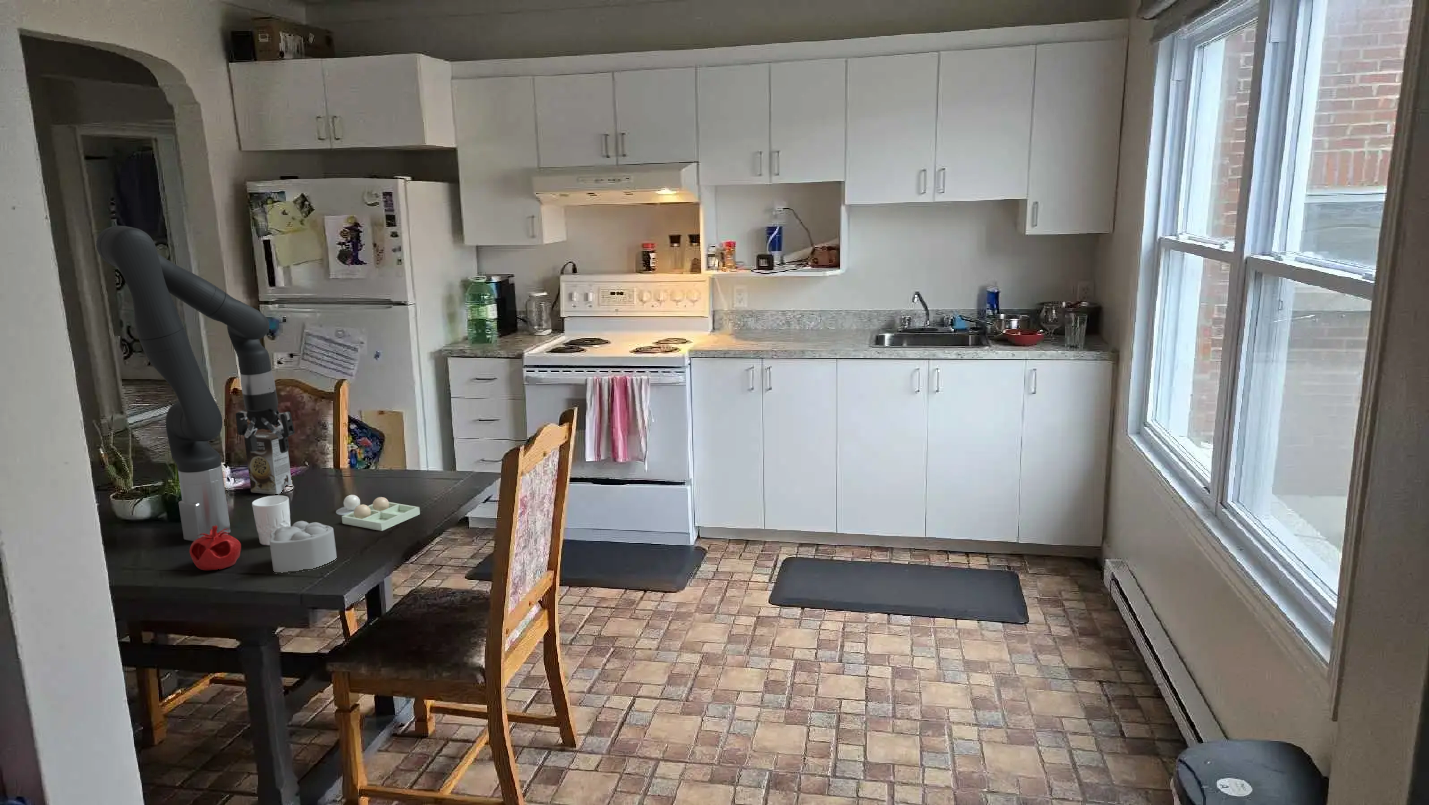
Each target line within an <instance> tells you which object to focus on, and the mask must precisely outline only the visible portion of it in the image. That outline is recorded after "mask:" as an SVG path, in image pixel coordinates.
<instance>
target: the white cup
mask: <svg viewBox="0 0 1429 805" xmlns="http://www.w3.org/2000/svg"><path fill="white" fill-rule="evenodd" d="M251 507H252V510H253V511H252V512H253V515H254V516H253V517H254V522H255V526H256V532H257V534H258V539H259V540H258V541H259V543H260V544H261V545H262V546H270V539H271V538H270V534H271V533H272V532H274V531H276V530H277V529H278V528H280V527H286V526H292V525H291V511H290V498H289V496H286V495H280V494H278V495H268V496H263V497H261V498H257V499H255V500H253V501H252V502H251Z"/></svg>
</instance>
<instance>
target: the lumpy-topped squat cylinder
mask: <svg viewBox="0 0 1429 805" xmlns="http://www.w3.org/2000/svg"><path fill="white" fill-rule="evenodd" d="M270 538H271V539H270V545H269V548H270V549H269V550H270V558H271V562H272V570H273V571H274V572H281V573H283V572H288V571H299V570H303V569H313V568H316V567H319V566H322V565H324V564H327V563H329V562H331V561H333V560H335V559H336V558H337V548H336V540H335V532H334V527H332V526H330V525H326V524H323V523H320V522H316V521H315V522H313V521H312V522H310V523H309V522H307V521H306V520H305V521H304V520H299V521H296V522H294V523H293V524H292V525H291V526H286V527H280V528H278V529H277V530H276V531H274V532H272V533H271V534H270ZM336 560H337V559H336ZM336 560H335V561H336ZM313 570H314V569H313ZM273 571H272V572H273ZM274 572H273V573H274Z"/></svg>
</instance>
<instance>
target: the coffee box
mask: <svg viewBox="0 0 1429 805" xmlns="http://www.w3.org/2000/svg"><path fill="white" fill-rule="evenodd" d="M254 436H256V439H257V445H258V450H256V451H254V452H250V449H249V448H248V444H247V439H246V437H245V436H243V439H244V446H245V453H246V455H245V456H246V460H247V461H246V463H247V470H248V471H247V472H248V477H249V485H250V492H251V493H255V494H256V493H257V494H264V495H265V494H267V495H275V494H278V495H280V494H282V493H283V492H282V490H283V489H284V488H285V486H286V485H292V486H293V484H292V475H291V466H290V457H289V450H288V451H287V452H285V453H281V452H280V447H279V441H278V439H279V438H278V436H277V435H276V434H275V433H272V432H267V431H257V432H256V433H255V435H254ZM281 492H282V493H281Z"/></svg>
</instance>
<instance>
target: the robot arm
mask: <svg viewBox="0 0 1429 805" xmlns="http://www.w3.org/2000/svg"><path fill="white" fill-rule="evenodd" d="M95 246H96V250H97V253H98V255H99V256H100V258H101V259H102V260H103V261H104V262H106V263H107V264H108V265H110V266H112V267H115V268H118V269H119V271H120V273H121V275H122V277H123V279H124V281H125V284H126V286H127V287H128V289H129V292H130V296H131V298H132V306H133V319H134V322H133V323H134V327H135V332H136V334H137V338H138V341H139V343H140V345H141V347H142V350H143V352H144V354H145V356H146V358H147V360H148V361H149V363H150V364H151V366H152V367H153V368H154V369H155V370H156V372H157V373H158V374H159V375H160V376H162V378H163V379H164V380H165V381H166V382H167V383H168V385H169V386H170V387H171V389H172V390H173V392H174V394H175V395H176V397H177V400H178V401H177V402H175V403H173V404H172V405H171V406H170V407H169V409H168V411H167V412H166V416H165V429H166V435H167V440H168V445H169V450H170V454H171V457H172V459H173V461H174V462H175V464H176V466H177V472H178V473H177V474H178V480H179V489H180V494H181V500H180V501H178V507H179V515H180V521H181V522H180V523H181V527H182V528H181V529H182V534H183V539H184V540H186V541H190V542H194V541H195V540H196V539H198V538H201V537H203V536H205V535H199V534H202V533H205V534H209V535H210V531H209V530H210V529H212V526H216V525H217V533H218V532H220V531H222V530H223V529H227V530H224V531H222V532H228V533H229V534H230V533H231V524H230V517H229V509H228V508H229V507H228V503H227V495H226V488H225V482H224V481H225V480H224V474H223V466H222V460H221V459H222V458H221V454H220V453H219V451H217V450H216V449H214V448H213V447H212V446H211V444H210V443H209V442H210V441H214V440H215V439H217V437H219V435H220V433H221V432H222V430H223V422H224V421H223V417H222V413H221V410H220V408H219V406H218V404H217V402H216V400H215V398H214V397H213V395H212V392H211V391H210V388H209V386H208V384H207V383H206V381H205V379H204V376H203V374H202V371H201V368H200V366H199V364H198V361H197V359H196V357H195V354H194V352H193V349H192V346H191V342H190V339H189V336H188V334H187V331H186V330H185V326H184V324H183V322H182V320H181V317H180V316H179V312H178V310H177V308H176V305H175V303H174V300H173V298H172V296H173V297H175V298H177V299H178V300H180V301H182V302H183V303H184V304H186V305H188V306H189V307H191V308H193V309H194V310H196V311H197V312H198V313H201V314H202V315H203V316H206V317H207V318H209V319H210V320H212V321H213V320H214V321H217V322H219V323H222V324H223V325H226V328H227V334H228V336H229V337H228V338H229V339H230V342H231V345H232V347H233V350H234V351H235V353H236V356H237V363H238V368H239V369H238V370H239V375H240V387H241V393H242V399H243V403H244V409H242V410H240V411H237V412H236V413H235V421H236V422H235V423H236V428H237V429H236V430H237V434H238V435H239V436H243V437H246V439H247V444H248V448H249V449H250V452H254V451H256V450H258V445H257V439H256V436H254V435H255V433H257V432H258V430H266V431H270V433H275V434H276V435H277V436H278V438H279V439H278V441H279V447H280V452H281V453H285V452H287V451H288V452H289V450H290V444H289V437H291V436H292V435H295V433H296V432H295V428H294V424H293V422H294V421H293V418H292V414H291V412H290V411H286V412H280V411H279V410H278V406H279V400H278V395H277V388H276V382H275V377H274V374H273V370H272V365H271V359H270V357H271V356H270V353H269V352H268V350H267V349H266V347H264V346H263V345H262V343H261V340H260V339H263V338H265V337H266V336H267V335H268V333H269V331H270V322H269V319H268V318H267V316H266V315H264V314H263V313H262V312H261V311H260V310H258V309H256V308H254V307H253V306H251V305H248V304H246V303H245V302H242V301H240V300H238V299H236V298H234V297H233V296H231V295H230V294H229V293H227V292H225V291H224V290H223V289H221V288H219V287H218V286H217V285H214V284H213V283H211V282H210V281H208V280H207V279H204V278H203V277H201V276H199V275H197V274H195V273H193V272H191V271H189V270H188V269H185V268H183V267H181V266H179V265H177V264H175V263H174V262H172V261H170V260H168V259H167V258H165V257H164V256H163V255H161V254H159V253H158V249H157V247H156V246H157V245H156V244H155V241H154V240H153V239H152V237H151V236H150V235H149V234H148V232H146V231H143V230H142V229H140V228H137V227H132V226H126V225H114V226H109V227H107V228H105V229H103V230H102V231H101V232H100V233H99V235H98V236H97V237H96V245H95ZM171 295H172V296H171ZM248 420H249V424H248ZM212 530H213V529H212ZM222 532H221V533H222ZM229 534H227V535H229ZM198 535H199V536H198Z"/></svg>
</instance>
